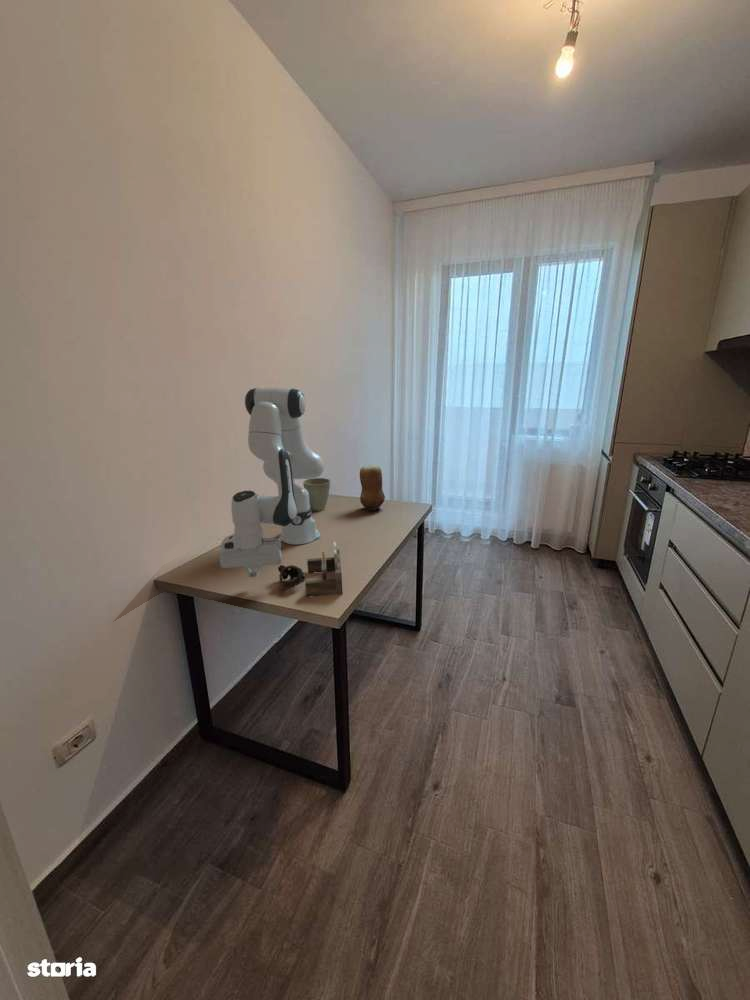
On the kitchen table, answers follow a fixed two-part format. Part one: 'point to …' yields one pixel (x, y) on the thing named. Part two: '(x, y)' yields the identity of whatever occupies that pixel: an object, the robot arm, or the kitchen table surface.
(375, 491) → the butternut squash
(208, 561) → the kitchen table surface
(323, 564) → the grey flat panel
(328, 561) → the stand
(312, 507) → the plant pot
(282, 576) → the pottery mug
